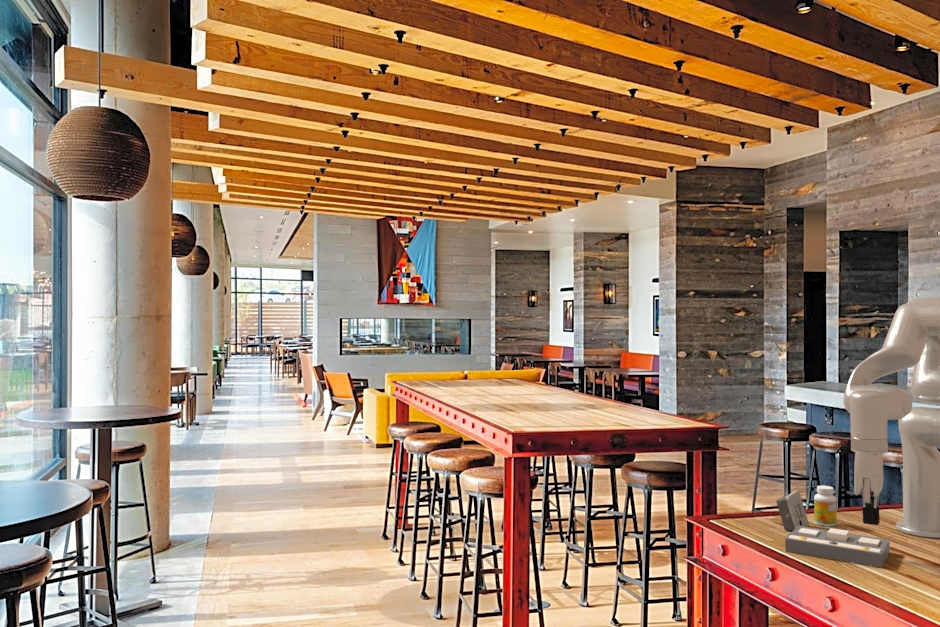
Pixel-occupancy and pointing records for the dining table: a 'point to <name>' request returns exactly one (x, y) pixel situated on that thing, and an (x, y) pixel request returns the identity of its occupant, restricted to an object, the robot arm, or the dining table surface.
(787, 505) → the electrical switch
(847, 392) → the robot arm
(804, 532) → the left button
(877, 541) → the right button
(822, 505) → the supplement bottle
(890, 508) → the dining table surface
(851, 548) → the switch panel
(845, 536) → the middle button
